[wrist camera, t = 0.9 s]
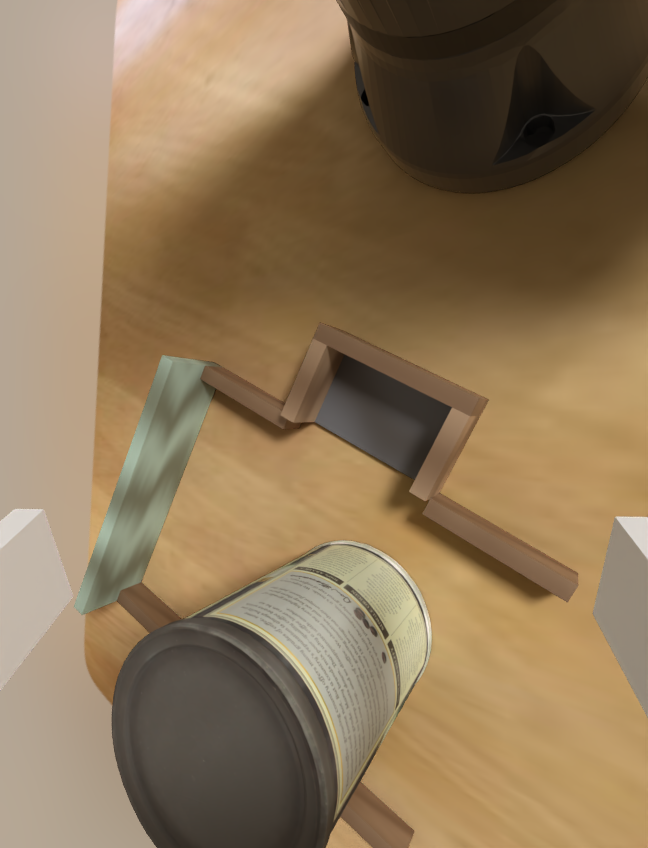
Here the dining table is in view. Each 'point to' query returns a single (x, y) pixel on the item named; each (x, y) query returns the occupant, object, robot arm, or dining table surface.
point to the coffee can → (269, 702)
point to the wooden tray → (307, 402)
